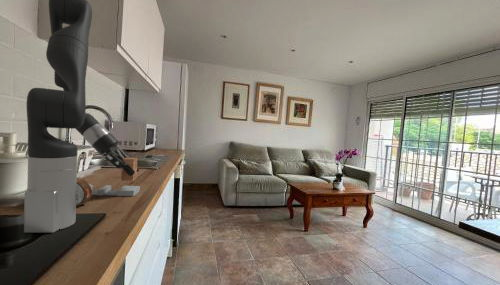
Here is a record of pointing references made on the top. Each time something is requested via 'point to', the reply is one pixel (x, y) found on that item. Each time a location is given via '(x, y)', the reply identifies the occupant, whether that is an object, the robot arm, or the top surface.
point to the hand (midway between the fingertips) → (134, 173)
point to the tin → (82, 192)
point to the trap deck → (116, 191)
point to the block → (133, 164)
